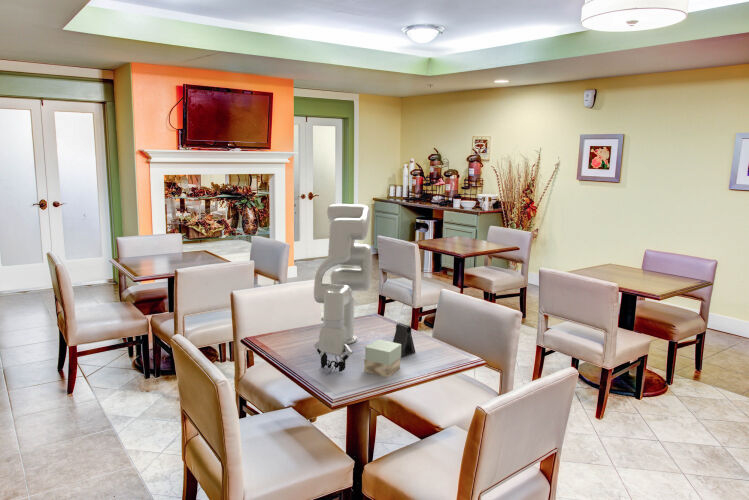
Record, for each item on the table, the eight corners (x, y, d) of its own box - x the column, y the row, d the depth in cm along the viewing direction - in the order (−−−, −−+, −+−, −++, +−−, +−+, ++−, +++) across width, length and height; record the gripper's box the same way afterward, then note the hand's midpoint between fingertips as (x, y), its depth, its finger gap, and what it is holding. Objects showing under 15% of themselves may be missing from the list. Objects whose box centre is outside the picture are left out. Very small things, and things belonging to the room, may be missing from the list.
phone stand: (400, 357, 217) (401, 328, 215) (389, 353, 222) (390, 325, 219) (415, 352, 223) (416, 324, 221) (404, 348, 228) (406, 321, 226)
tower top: (365, 359, 201) (365, 346, 200) (377, 351, 210) (378, 339, 209) (389, 365, 197) (389, 352, 196) (400, 356, 205) (401, 344, 205)
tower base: (364, 372, 203) (364, 359, 202) (376, 363, 211) (377, 351, 210) (387, 378, 198) (388, 365, 197) (399, 368, 206) (400, 356, 206)
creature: (322, 379, 197) (343, 372, 199) (319, 365, 196) (340, 359, 198) (318, 370, 205) (338, 364, 207) (315, 357, 203) (335, 351, 205)
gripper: (308, 321, 199) (307, 366, 203) (348, 329, 191) (347, 377, 195) (319, 316, 206) (319, 360, 209) (359, 324, 198) (358, 370, 201)
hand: (332, 368), depth 202 cm, fingers closed on creature, 7 cm apart
